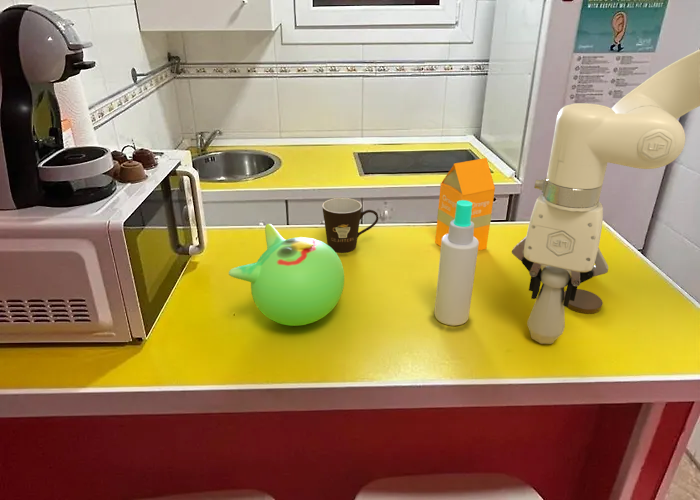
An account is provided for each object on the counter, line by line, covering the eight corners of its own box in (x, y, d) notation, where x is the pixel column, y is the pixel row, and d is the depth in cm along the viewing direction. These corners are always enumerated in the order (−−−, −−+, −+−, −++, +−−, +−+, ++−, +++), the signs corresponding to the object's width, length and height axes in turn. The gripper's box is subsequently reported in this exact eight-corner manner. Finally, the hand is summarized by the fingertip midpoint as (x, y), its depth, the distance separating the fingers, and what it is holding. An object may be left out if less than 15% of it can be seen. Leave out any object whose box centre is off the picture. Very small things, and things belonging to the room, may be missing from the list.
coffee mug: (316, 250, 115) (315, 209, 110) (332, 235, 122) (331, 195, 117) (365, 260, 111) (366, 218, 107) (378, 244, 118) (380, 203, 114)
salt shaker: (550, 324, 90) (564, 259, 84) (568, 345, 85) (584, 276, 79) (519, 328, 89) (530, 262, 83) (535, 349, 84) (548, 280, 78)
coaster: (602, 299, 98) (604, 294, 98) (599, 317, 93) (600, 313, 92) (564, 289, 101) (565, 285, 101) (558, 307, 96) (559, 302, 95)
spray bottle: (432, 307, 96) (443, 195, 85) (465, 308, 95) (480, 196, 85) (436, 326, 90) (448, 210, 80) (471, 327, 90) (487, 211, 80)
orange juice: (434, 242, 119) (442, 158, 110) (465, 235, 123) (475, 152, 113) (455, 257, 113) (465, 169, 104) (487, 248, 116) (499, 163, 107)
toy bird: (328, 350, 84) (326, 272, 78) (232, 335, 88) (223, 259, 81) (353, 292, 100) (354, 223, 93) (271, 281, 103) (266, 214, 97)
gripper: (507, 191, 76) (492, 297, 84) (635, 212, 69) (605, 325, 77) (518, 176, 82) (503, 276, 90) (637, 193, 75) (609, 300, 83)
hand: (550, 297), depth 84 cm, fingers closed on salt shaker, 4 cm apart
